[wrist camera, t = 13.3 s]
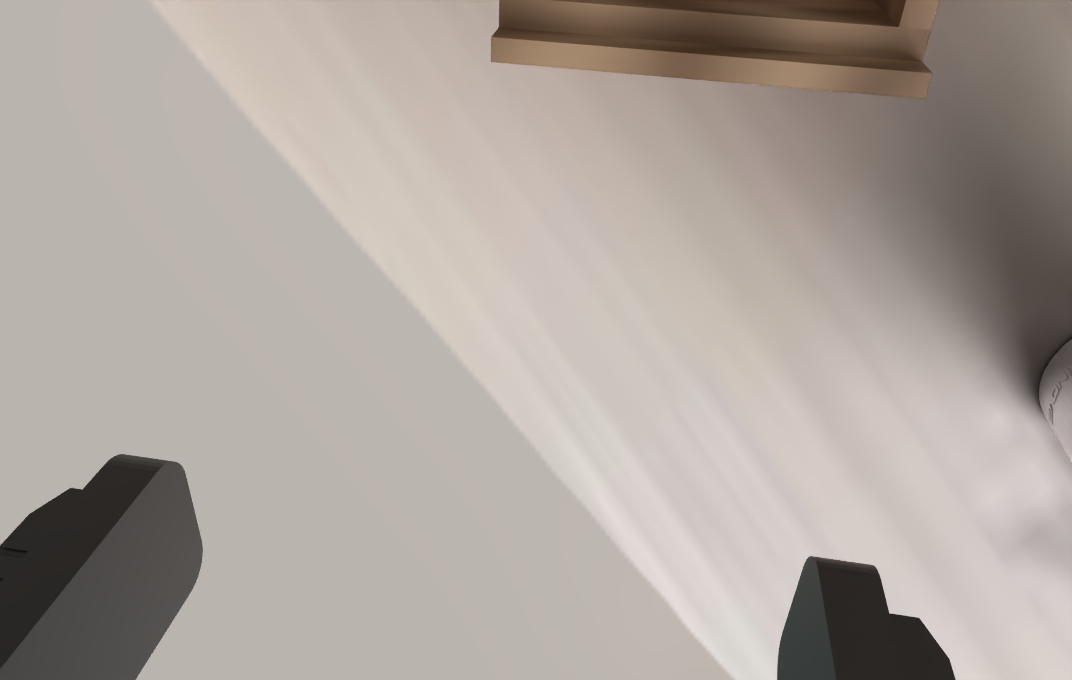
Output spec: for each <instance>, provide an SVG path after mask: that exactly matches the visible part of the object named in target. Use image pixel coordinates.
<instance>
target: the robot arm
mask: <svg viewBox="0 0 1072 680" xmlns="http://www.w3.org/2000/svg"><path fill="white" fill-rule="evenodd" d="M1039 402H1040V405H1041V409H1042V412H1043V414H1044V415H1045V417H1046V419H1047V421H1048V422H1049V424H1050V426H1051V427H1052V429H1053V431H1054V433H1055V434H1056V436H1057V438H1058V439H1059V441H1060V443H1061V445H1062V446H1063V448H1064V450H1065V452H1066V453H1067V455H1068V457H1069V459H1070V461H1071V462H1072V339H1071V340H1070V341H1069V342H1067V343H1066V344H1065V345H1064V346H1063V347H1062V348H1061V349H1060V350H1059V351H1058V352H1057V353H1056V354H1055V355H1054V356H1053V357H1052V359H1051V361H1050V362H1049V364H1048V365H1047V367H1046V369H1045V370H1044V372H1043V375H1042V379H1041V382H1040V385H1039ZM202 552H203V548H202V540H201V536H200V532H199V528H198V524H197V520H196V516H195V512H194V507H193V503H192V499H191V495H190V491H189V486H188V482H187V478H186V474H185V471H184V470H183V467H182V466H181V465H180V464H179V463H177V462H173V461H166V460H158V459H152V458H145V457H138V456H131V455H125V454H120V455H117V456H114V457H113V458H111V459H110V460H109V461H108V462H107V463H106V464H105V465H104V466H103V467H102V468H101V469H100V471H99V472H98V473H97V474H96V475H95V476H94V477H93V478H92V480H91V481H90V482H89V483H88V484H87V485H86V486H85V487H84V489H83V490H81V489H74V488H70V489H68V490H67V491H65V492H64V493H62V494H60V495H59V496H57V497H56V498H54V499H52V500H51V501H49V502H48V503H46V504H45V505H43V506H42V507H40V508H38V509H37V510H35V511H34V512H32V513H30V514H29V515H28V516H27V517H26V518H25V519H24V521H23V522H22V523H21V524H20V525H19V526H18V527H17V528H16V529H15V530H14V531H13V532H12V533H11V535H10V536H9V537H8V538H7V539H6V540H5V541H4V542H3V543H2V544H1V545H0V680H135V679H136V678H137V676H138V675H139V673H140V672H141V670H142V668H143V667H144V665H145V664H146V662H147V661H148V659H149V657H150V656H151V654H152V653H153V651H154V649H155V648H156V646H157V645H158V643H159V642H160V640H161V638H162V637H163V635H164V634H165V632H166V630H167V629H168V627H169V625H170V624H171V623H172V621H173V619H174V618H175V616H176V615H177V613H178V612H179V610H180V608H181V607H182V605H183V604H184V602H185V600H186V599H187V597H188V595H189V594H190V592H191V591H192V589H193V587H194V585H195V583H196V580H197V578H198V575H199V571H200V567H201V563H202ZM777 680H955V676H954V673H953V670H952V666H951V663H950V660H949V658H948V657H947V655H946V654H945V653H944V651H943V650H942V648H941V647H940V646H939V644H938V643H937V642H936V640H935V639H934V638H933V636H932V635H931V634H930V632H929V631H928V629H927V628H926V627H925V625H924V624H923V623H922V621H921V620H920V619H919V618H916V617H909V616H902V615H896V614H889V611H888V607H887V603H886V598H885V594H884V590H883V586H882V582H881V578H880V575H879V573H878V570H877V569H876V567H875V566H873V565H868V564H861V563H854V562H847V561H840V560H833V559H827V558H820V557H813V556H810V557H808V559H807V560H806V562H805V564H804V567H803V570H802V573H801V576H800V579H799V582H798V586H797V589H796V592H795V595H794V598H793V601H792V604H791V608H790V611H789V614H788V617H787V620H786V623H785V626H784V630H783V633H782V636H781V641H780V647H779V654H778V668H777Z"/></svg>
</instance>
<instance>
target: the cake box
mask: <svg viewBox="0 0 1072 680" xmlns="http://www.w3.org/2000/svg"><path fill="white" fill-rule="evenodd" d="M939 1H940V0H500V2H499V28H498V29H497V31H496V32H495V33H494V34H493V36H492V37H491V62H498V63H510V64H521V65H533V66H545V67H557V68H568V69H580V70H592V71H603V72H615V73H627V74H639V75H650V76H662V77H674V78H685V79H697V80H709V81H721V82H732V83H744V84H756V85H768V86H779V87H791V88H803V89H814V90H826V91H838V92H850V93H861V94H873V95H885V96H897V97H908V98H920V99H925V97H926V93H927V90H928V87H929V83H930V80H931V77H932V72H931V71H930V70H929V69H928V68H927V67H926V66H925V65H924V64H923V62H922V59H923V56H924V52H925V49H926V45H927V42H928V39H929V35H930V32H931V28H932V25H933V22H934V18H935V15H936V11H937V8H938V4H939Z"/></svg>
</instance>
